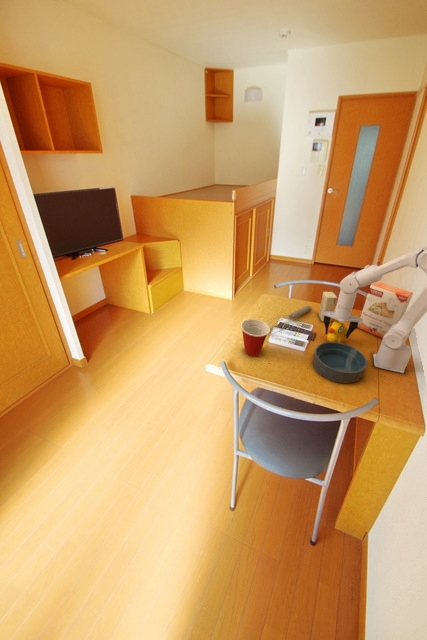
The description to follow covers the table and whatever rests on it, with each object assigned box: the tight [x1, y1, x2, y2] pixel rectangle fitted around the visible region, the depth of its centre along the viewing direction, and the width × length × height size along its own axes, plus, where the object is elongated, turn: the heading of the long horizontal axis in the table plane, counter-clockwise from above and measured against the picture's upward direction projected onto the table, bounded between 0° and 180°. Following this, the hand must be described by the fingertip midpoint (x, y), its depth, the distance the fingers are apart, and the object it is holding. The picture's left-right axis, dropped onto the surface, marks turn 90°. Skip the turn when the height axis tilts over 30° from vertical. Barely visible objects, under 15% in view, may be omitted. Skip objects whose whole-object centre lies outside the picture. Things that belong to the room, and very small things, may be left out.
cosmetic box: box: [318, 291, 338, 323], centre depth 130 cm, size 6×4×12 cm
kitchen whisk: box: [267, 305, 312, 335], centre depth 129 cm, size 6×34×6 cm, turn 133°
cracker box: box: [357, 281, 414, 339], centre depth 118 cm, size 14×6×21 cm, turn 42°
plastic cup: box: [240, 318, 271, 357], centre depth 109 cm, size 11×11×12 cm
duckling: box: [326, 320, 348, 343], centre depth 115 cm, size 11×5×10 cm, turn 123°
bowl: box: [312, 341, 368, 384], centre depth 103 cm, size 17×17×5 cm
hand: (336, 335), depth 116 cm, fingers open, 7 cm apart
